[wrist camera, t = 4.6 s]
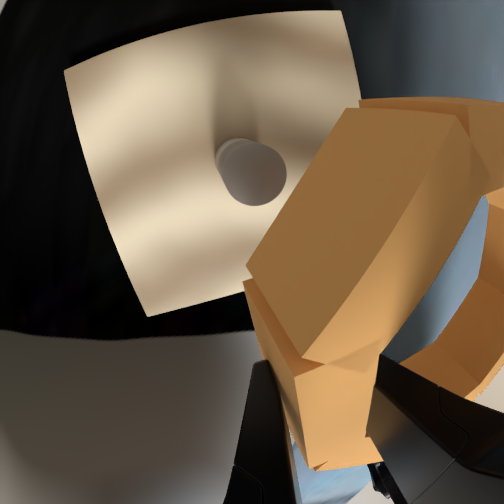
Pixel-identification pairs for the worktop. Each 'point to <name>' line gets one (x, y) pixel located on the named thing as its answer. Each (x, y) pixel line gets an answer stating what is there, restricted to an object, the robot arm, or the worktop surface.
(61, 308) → the worktop surface
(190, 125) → the hook stand
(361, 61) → the worktop surface
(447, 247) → the orange octagonal ring
